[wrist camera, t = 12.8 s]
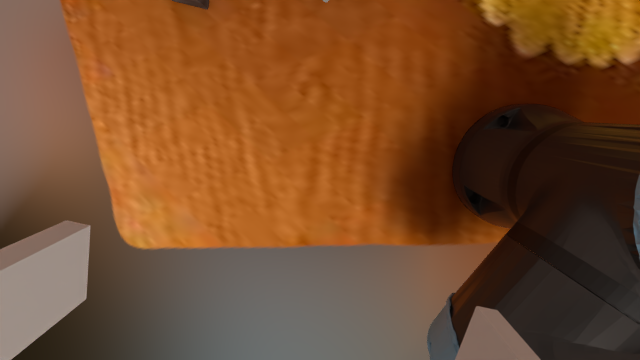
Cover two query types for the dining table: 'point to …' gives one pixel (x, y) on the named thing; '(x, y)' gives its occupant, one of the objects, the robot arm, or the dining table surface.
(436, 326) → the robot arm
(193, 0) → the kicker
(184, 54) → the dining table surface
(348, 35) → the dining table surface
